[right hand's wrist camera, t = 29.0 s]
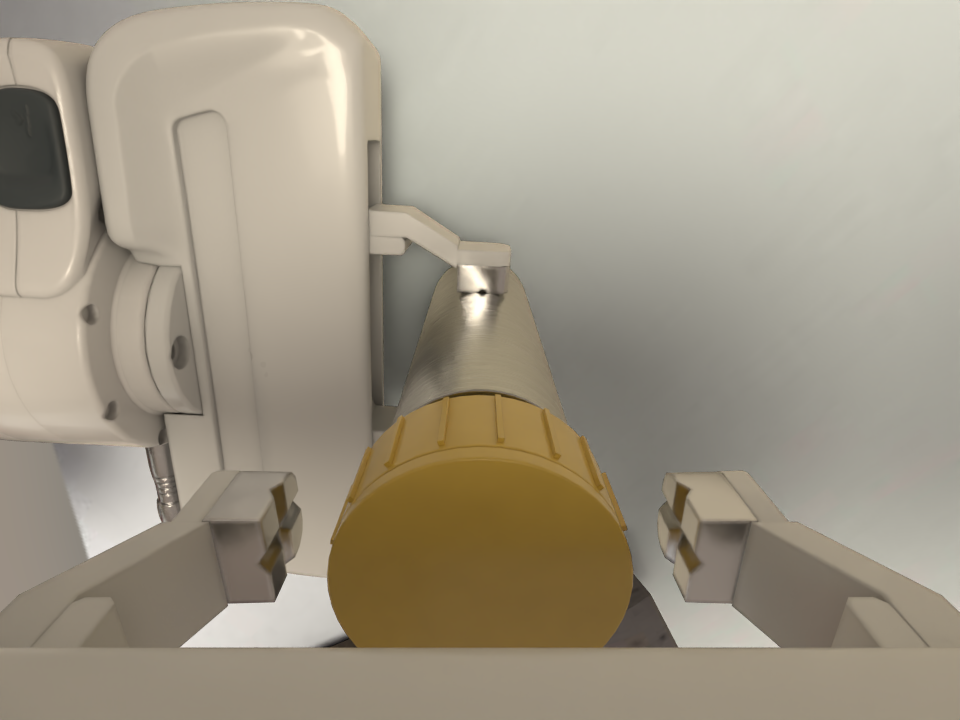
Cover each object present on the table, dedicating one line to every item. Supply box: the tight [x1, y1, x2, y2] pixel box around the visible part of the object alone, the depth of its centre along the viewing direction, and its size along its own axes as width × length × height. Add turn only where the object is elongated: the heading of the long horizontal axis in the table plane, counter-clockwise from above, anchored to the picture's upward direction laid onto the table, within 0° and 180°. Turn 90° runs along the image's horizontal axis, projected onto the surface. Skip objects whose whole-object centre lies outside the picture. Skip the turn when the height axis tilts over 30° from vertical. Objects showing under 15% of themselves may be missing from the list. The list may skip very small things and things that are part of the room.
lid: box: [327, 394, 633, 648], centre depth 10 cm, size 5×5×2 cm
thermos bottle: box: [392, 264, 568, 425], centre depth 17 cm, size 4×4×16 cm
